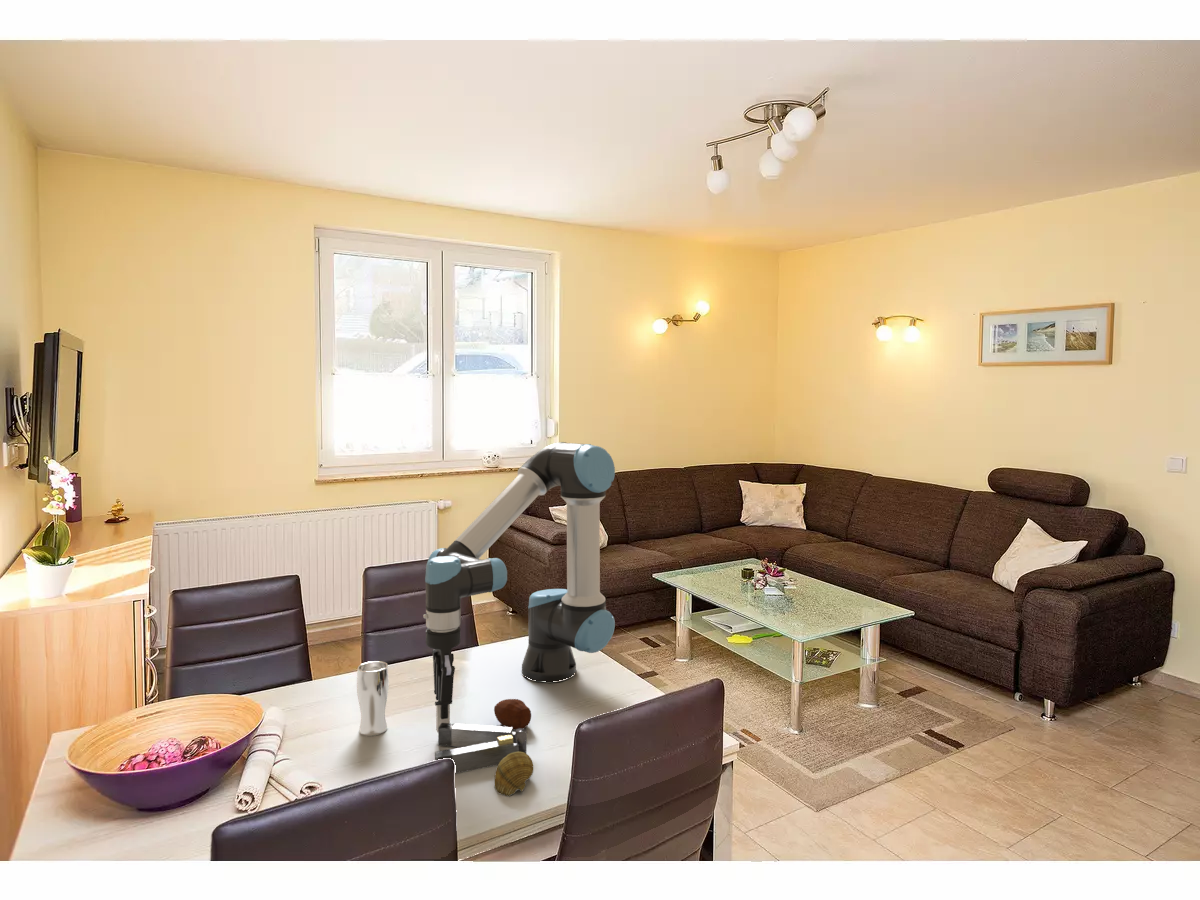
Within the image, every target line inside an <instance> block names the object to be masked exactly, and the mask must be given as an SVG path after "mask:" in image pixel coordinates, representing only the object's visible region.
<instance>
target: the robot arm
mask: <svg viewBox="0 0 1200 900" xmlns="http://www.w3.org/2000/svg"><path fill="white" fill-rule="evenodd" d="M615 475H616V468H615V463H614V460H613V458H612V456H611V454H610V453H609V452H608V451H607V450H606V449H605V448H603V447H601V446H598V445H594V444H591V443H576V442H575V443H573V442H572V443H571V442H566V441H565V442H564V441H559V442H555V443H551V444H549V445H547V446H544V448H541V449H540V450H539V451H536V452H535V454H533V455H532V456H530V458H528V459H527V460H526V461H525V462H524V463H523V464H522V466H520V467H519V468H518V470H517V476H516V477H515V478H514V479H513V480H512V481H511V482H510V483H509V484H508V485H507V486H506V487H505V489H503V490H502V491H501V493H499V494H498V495H497V496H496V497H495V498H494V500H493V501H492V502H491V503H490V504H489V505H488V506H486V508H485V509H484V510H483V511H482V512H481V513H480V514H479V515H478V516H477V517H476V518H475V519H474V520H473V521H472V522H471V523H470V524H469V525H468V526H467V528H465V530H463V531H462V533H460V535H459V536H458V537H456V539H455V540H454V541H453V542H451V544H450V545H448V547H447V548H446V547H440V548H437V549H435V550H433V552H431V554H430V555H429V556H428V560H427V563H426V564H425V565H426V567H425V576H424V577H425V579H424V581H425V614H422V615H423V619H425V627H426V629H425V645H426V647H427V648H429V649H432V651H431V655H432V661H433V662H432V664H433V665H432V666H433V667H432V668H433V687H434V689H433V693H434V695H435V700H436V701H434V705H435V709H436V713H435V717H436V718H435V719H436V721H435V722H436V729H435V730H436V732H437V733H438V727H439V726H440V725H441V723H450V721H451V709H450V708H451V706H450V705H452V704H453V695H454V693H453V691H454V690H453V689H454V679H455V678H454V677H455V672H456V667H455V665H453V663H454V662H455V659H454V658H455V657H454V653H452V649H453V648H457V647H458V646H459V645H460V643H461V628H460V626H461V624H462V623H461V622H462V618H461V617H462V616H461V615H462V613H461V612H462V607H461V601H462V598H467V597H472V596H476V595H483V594H486V593H492V592H495V591H498V590H501V589H503V588H504V587H505V585H506V584H507V582H508V570H507V566H506V564H505V563H504V561H503V560H502V559H500V558H499V557H493V558H490V557H488V558H485V559H481V558H482V556H483V555H484V554H485V553H486V552H487V551H488V550H489V549H490V548H491V546H493V544H494V543H496V541H497V540H498V539H499V538H500V537H501V536H502V535H503V534H504V533H505V532H506V530H507V529H508V528H510V526H511V525H512V524H513V523H514V522H515V521H516V520H517V519H518V517H520V515H522V514H523V512H524V511H525V510H526V509H527V508H529V506H530V505H531V504H532V503H533V502H534V501H535V500H536V499H537V497H539V496H545V495H546V494H547V492H548V491H549V490H551V489H552V488H555V487H560V498H561V499H562V500H564V502H565V503H566V588H567V589H566V588H548V589H543V590H537V591H535V592H533V593H531V595H529V598H528V599H529V600H528V606H527V608H528V609H527V610H528V613H527V615H528V616H527V618H528V620H527V621H528V625H527V627H528V628H527V629H528V630H527V631H528V645H527V649H526V651H525V655H524V657H523V660H522V663H521V675H522V674H523V675H524V676H526V677H528V678H530V679H532V680H536V681H546V682H553V681H559V680H563V679H566V678H569V677H571V676H572V675H574V673H575V672H576V673H577V662H576V659H575V656H574V653H573V650H572V648H574V649H576V650H578V651H580V652H585V653H588V654H595V653H599V652H600V651H601V650H603V649H604V648H605V647H606V646H607V645H608V643H609V642H610V641H611V639H612V637H613V636H614V635H613V634H614V631H615V625H616V622H615V617H614V616H613V614H612V613H611V612H610V611H609V610H607V608H606V597H605V596H604V595H603V593H601V589H600V587H601V581H600V580H601V579H600V578H601V577H600V575H601V574H600V573H601V572H600V570H601V569H600V567H601V564H600V563H601V557H600V556H601V550H600V548H601V547H600V546H601V545H600V544H601V540H600V539H601V535H600V533H601V531H600V530H601V529H600V528H601V527H600V526H601V525H600V523H601V521H600V518H601V517H600V516H601V515H600V513H601V512H600V509H601V508H600V504H601V502H602V501H603V500H604V499H605V498H606V491H607V490H608V489H610V487H611V486H612V483H613V482H614V479H615ZM523 675H522V676H523ZM524 676H523V677H524ZM574 676H575V675H574ZM532 680H531V681H532ZM536 681H535V682H536ZM553 683H554V682H553Z"/></svg>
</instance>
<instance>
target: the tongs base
mask: <svg viewBox="0 0 1200 900" xmlns="http://www.w3.org/2000/svg"><path fill="white" fill-rule="evenodd" d="M514 732H515V743H513V737H512V735H506V736H501V737H497V741H494V742H488V743H483V744H478V745H472V746H467V747H457V748H452V749H451V748H450V749H444V750H438V751H435V752H434V761H435V760H438V759H443V758H451V759H453V760H454V762H455V765H456V773H455V774H458V773H459V774H460V773H465V772H469V771H474V770H480V769H483V768H484V769H485V768H489V767H493V766H498V765H499V763H500V761H501V760H502V759H503V758H504V757H506V756H507V755H508V754H510V753H513V752H524V753H526V754H527V747H528V746H527V743H528V742H527V738H528V737H527V735H528V733H527V729H526V728H524V729H523V728H520V729H517V730H515V731H514Z"/></svg>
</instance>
